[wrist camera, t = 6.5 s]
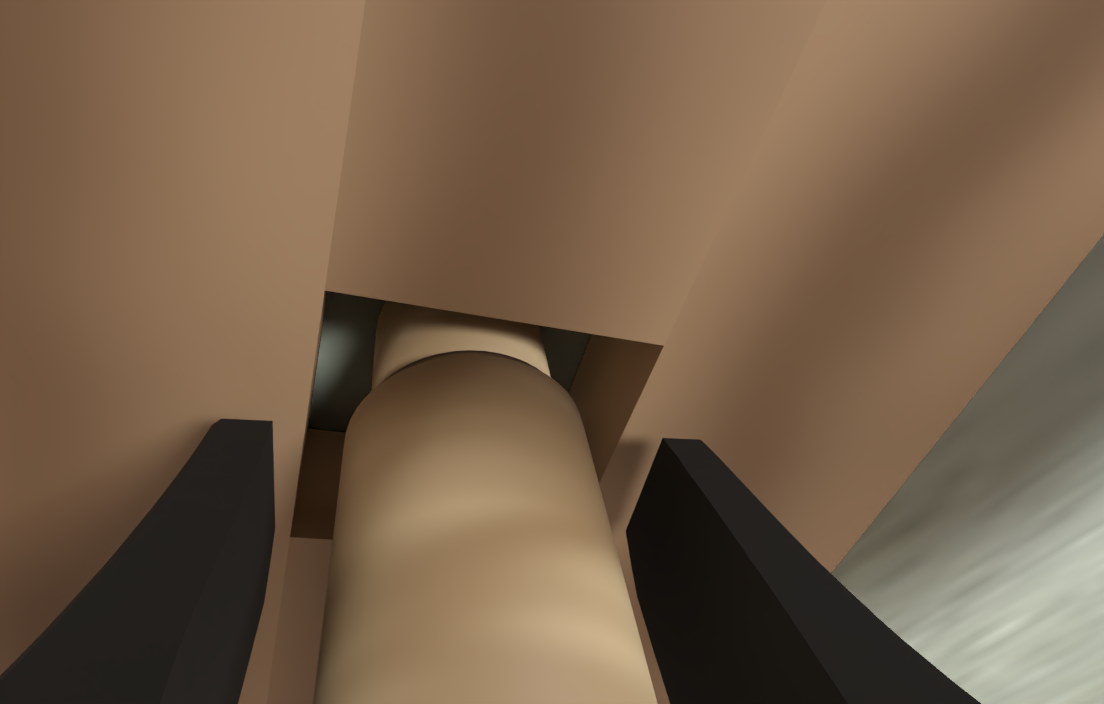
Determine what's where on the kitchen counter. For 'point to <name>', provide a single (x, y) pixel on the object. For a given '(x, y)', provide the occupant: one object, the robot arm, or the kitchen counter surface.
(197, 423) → the board
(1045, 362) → the kitchen counter surface
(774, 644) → the robot arm
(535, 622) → the peg
